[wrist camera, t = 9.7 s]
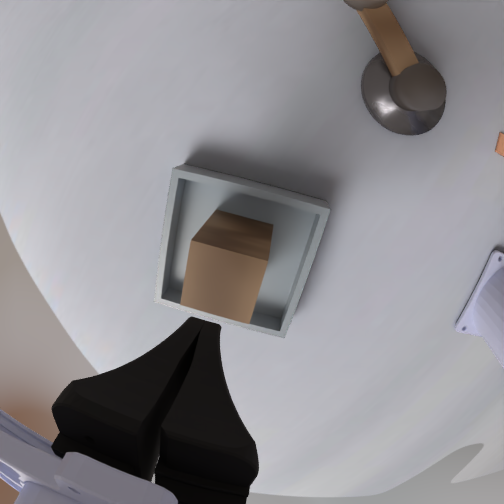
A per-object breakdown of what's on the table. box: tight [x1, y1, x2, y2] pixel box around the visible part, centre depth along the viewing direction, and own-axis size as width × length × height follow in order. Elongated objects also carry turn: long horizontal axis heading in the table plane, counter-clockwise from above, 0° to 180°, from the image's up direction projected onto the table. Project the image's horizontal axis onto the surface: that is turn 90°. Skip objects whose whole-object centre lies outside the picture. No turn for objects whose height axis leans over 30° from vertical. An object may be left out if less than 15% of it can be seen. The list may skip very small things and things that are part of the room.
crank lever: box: [344, 0, 446, 111], centre depth 12 cm, size 10×3×6 cm, turn 26°
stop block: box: [180, 209, 273, 324], centre depth 19 cm, size 4×4×6 cm
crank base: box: [361, 52, 445, 135], centre depth 17 cm, size 6×6×1 cm
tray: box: [154, 164, 331, 338], centre depth 22 cm, size 10×10×2 cm
